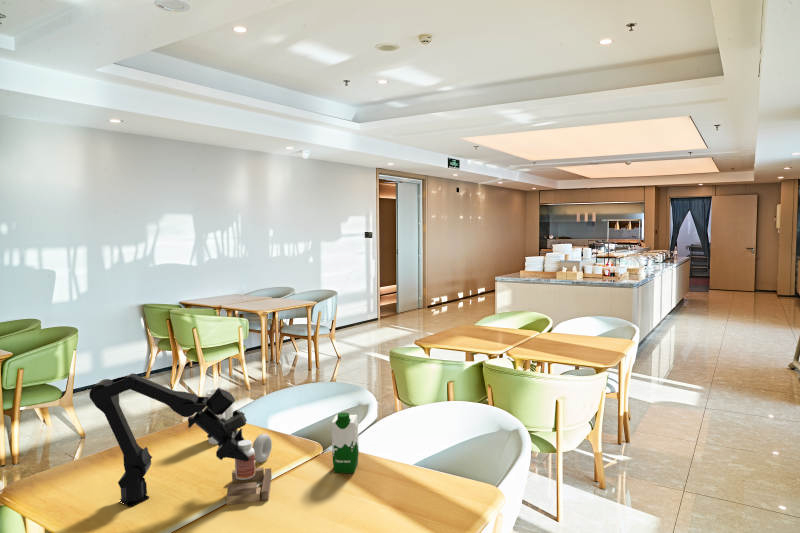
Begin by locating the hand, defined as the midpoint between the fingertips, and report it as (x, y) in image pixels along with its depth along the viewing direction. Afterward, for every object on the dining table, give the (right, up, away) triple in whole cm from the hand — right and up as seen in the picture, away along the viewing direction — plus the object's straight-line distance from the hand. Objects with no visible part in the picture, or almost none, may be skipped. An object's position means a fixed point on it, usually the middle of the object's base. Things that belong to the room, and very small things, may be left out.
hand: (249, 455), depth 175 cm
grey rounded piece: (-1, -10, +21) cm, 23 cm away
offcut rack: (0, -11, 0) cm, 11 cm away
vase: (-23, -8, +43) cm, 49 cm away
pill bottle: (-1, -7, 0) cm, 7 cm away
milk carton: (+30, -10, +14) cm, 34 cm away
